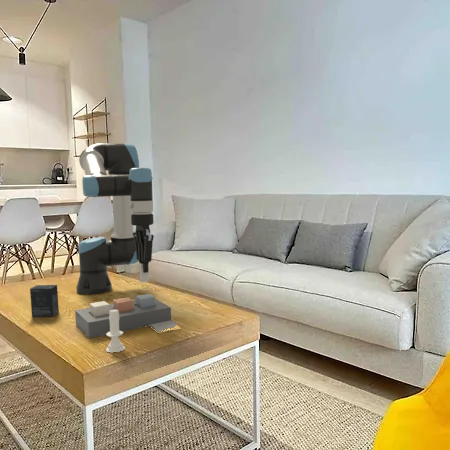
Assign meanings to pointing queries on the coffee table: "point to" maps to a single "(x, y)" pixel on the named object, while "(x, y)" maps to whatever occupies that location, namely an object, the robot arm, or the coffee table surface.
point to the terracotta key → (123, 304)
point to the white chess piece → (114, 332)
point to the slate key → (145, 301)
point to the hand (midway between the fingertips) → (144, 281)
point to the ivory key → (99, 308)
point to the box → (44, 300)
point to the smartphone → (163, 325)
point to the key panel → (122, 319)
